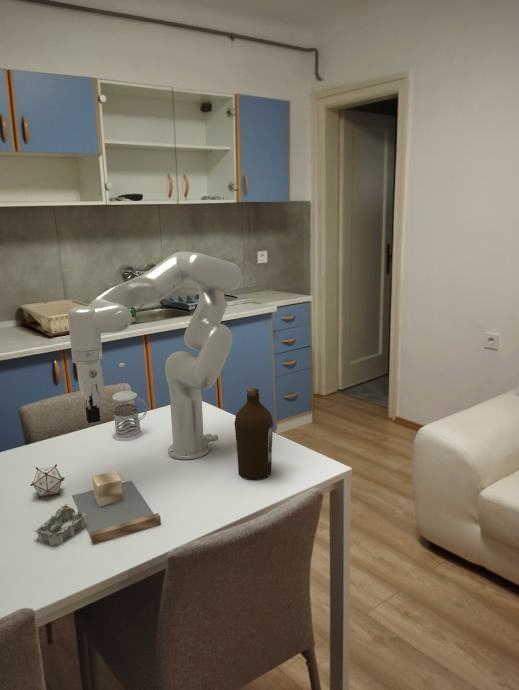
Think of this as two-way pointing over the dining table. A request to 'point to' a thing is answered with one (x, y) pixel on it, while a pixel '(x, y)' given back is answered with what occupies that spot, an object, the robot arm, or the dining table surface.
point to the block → (107, 489)
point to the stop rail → (125, 528)
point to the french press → (128, 429)
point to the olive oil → (254, 438)
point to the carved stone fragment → (53, 526)
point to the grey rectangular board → (112, 508)
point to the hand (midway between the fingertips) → (93, 421)
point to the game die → (47, 481)
